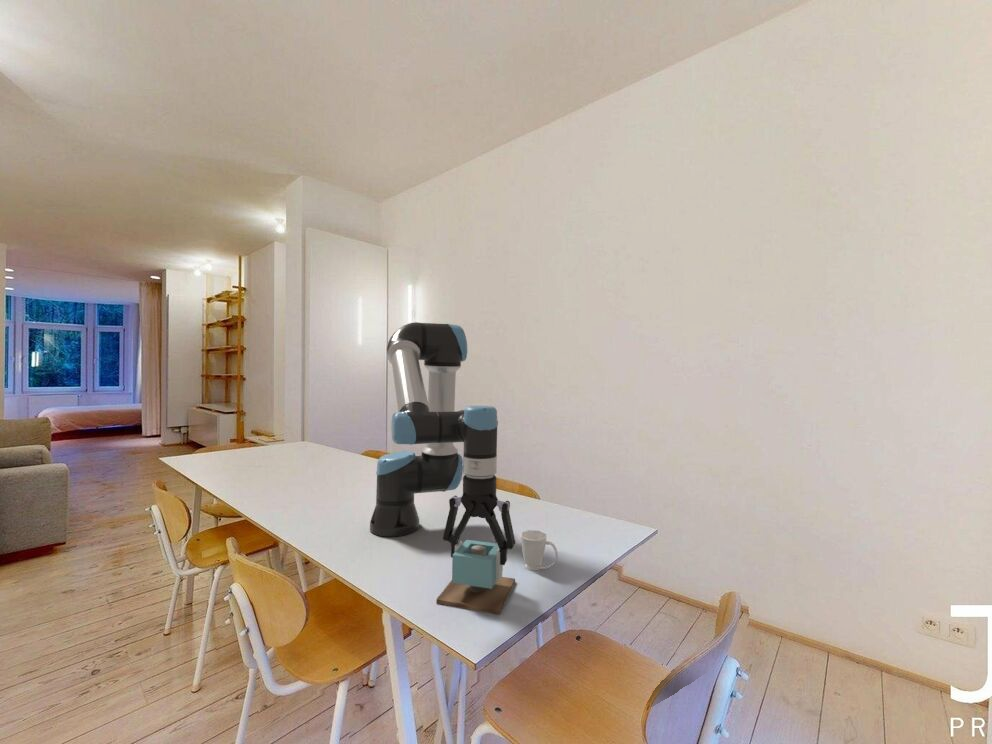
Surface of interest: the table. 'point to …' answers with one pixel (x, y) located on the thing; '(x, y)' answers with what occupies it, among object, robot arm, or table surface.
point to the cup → (535, 549)
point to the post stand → (477, 592)
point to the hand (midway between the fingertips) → (478, 575)
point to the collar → (475, 565)
